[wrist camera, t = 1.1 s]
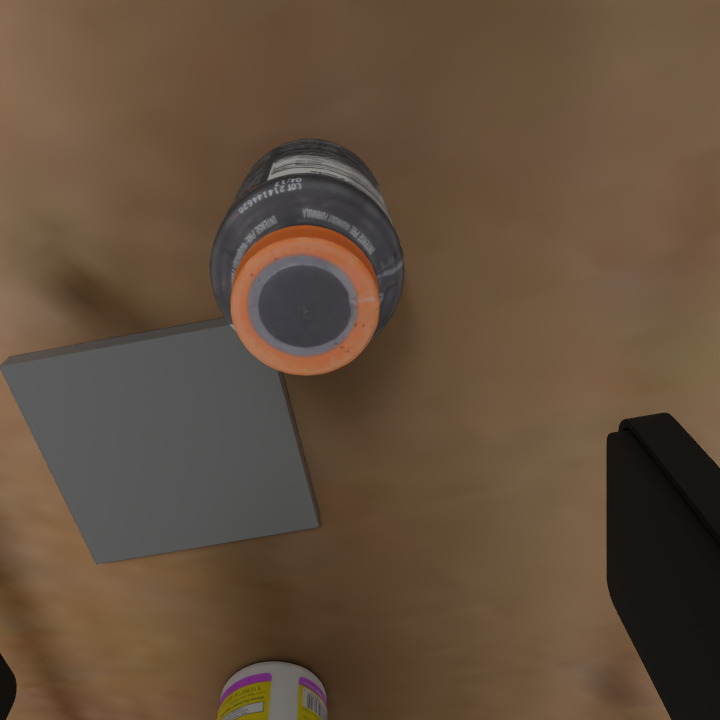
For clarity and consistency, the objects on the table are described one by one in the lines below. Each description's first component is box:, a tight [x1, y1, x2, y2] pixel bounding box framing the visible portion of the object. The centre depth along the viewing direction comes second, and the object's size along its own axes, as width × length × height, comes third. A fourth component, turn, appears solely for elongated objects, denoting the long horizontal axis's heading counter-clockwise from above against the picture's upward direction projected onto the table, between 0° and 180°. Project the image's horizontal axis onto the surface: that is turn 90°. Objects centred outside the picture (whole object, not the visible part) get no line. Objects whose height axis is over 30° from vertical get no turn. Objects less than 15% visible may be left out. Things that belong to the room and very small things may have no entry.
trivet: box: [0, 318, 319, 564], centre depth 31 cm, size 12×12×1 cm
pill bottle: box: [210, 139, 404, 376], centre depth 22 cm, size 6×6×11 cm
